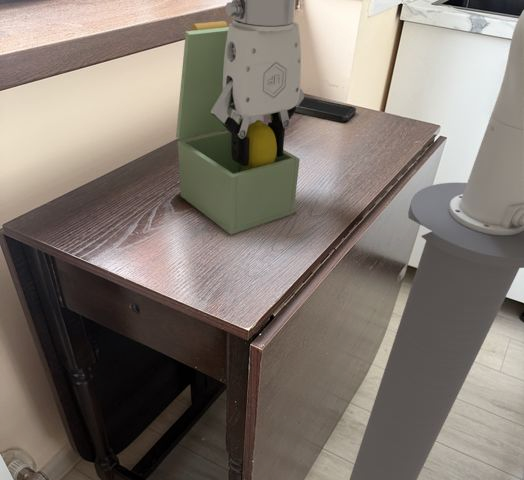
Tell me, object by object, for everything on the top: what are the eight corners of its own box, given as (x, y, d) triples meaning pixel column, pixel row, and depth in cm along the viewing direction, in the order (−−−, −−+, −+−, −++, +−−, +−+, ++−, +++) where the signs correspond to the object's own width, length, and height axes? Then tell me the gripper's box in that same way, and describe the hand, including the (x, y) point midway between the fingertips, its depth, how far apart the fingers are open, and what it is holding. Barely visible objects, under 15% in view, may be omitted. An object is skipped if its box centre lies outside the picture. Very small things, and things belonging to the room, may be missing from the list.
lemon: (273, 168, 78) (276, 113, 72) (276, 184, 74) (280, 128, 68) (237, 167, 78) (238, 113, 72) (238, 184, 74) (239, 127, 68)
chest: (293, 213, 80) (299, 158, 74) (230, 234, 74) (232, 177, 68) (241, 179, 88) (242, 126, 82) (180, 196, 82) (177, 141, 76)
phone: (346, 117, 110) (283, 103, 114) (345, 123, 110) (282, 109, 114) (357, 107, 115) (296, 94, 119) (356, 112, 116) (296, 99, 120)
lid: (265, 26, 69) (244, 8, 71) (189, 34, 63) (168, 14, 65) (244, 125, 81) (227, 107, 83) (178, 139, 75) (161, 120, 77)
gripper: (222, 23, 55) (223, 181, 68) (336, 11, 63) (318, 154, 76) (186, 10, 59) (193, 161, 72) (297, 0, 68) (286, 138, 80)
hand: (257, 156), depth 74 cm, fingers closed on lemon, 5 cm apart
